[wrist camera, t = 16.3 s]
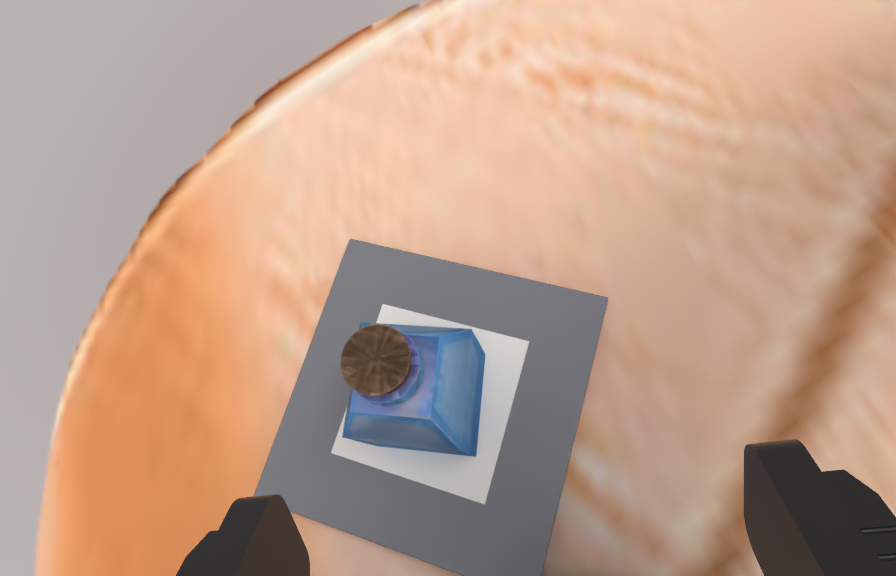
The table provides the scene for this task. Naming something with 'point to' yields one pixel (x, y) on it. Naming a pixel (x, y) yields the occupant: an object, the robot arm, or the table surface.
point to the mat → (500, 427)
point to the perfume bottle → (414, 387)
